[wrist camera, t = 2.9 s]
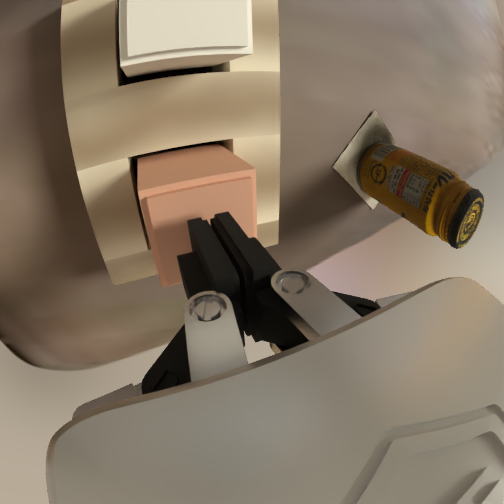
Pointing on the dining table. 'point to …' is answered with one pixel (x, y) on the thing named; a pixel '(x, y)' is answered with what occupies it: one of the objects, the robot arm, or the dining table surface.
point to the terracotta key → (192, 199)
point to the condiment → (410, 185)
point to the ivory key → (182, 34)
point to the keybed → (163, 124)
